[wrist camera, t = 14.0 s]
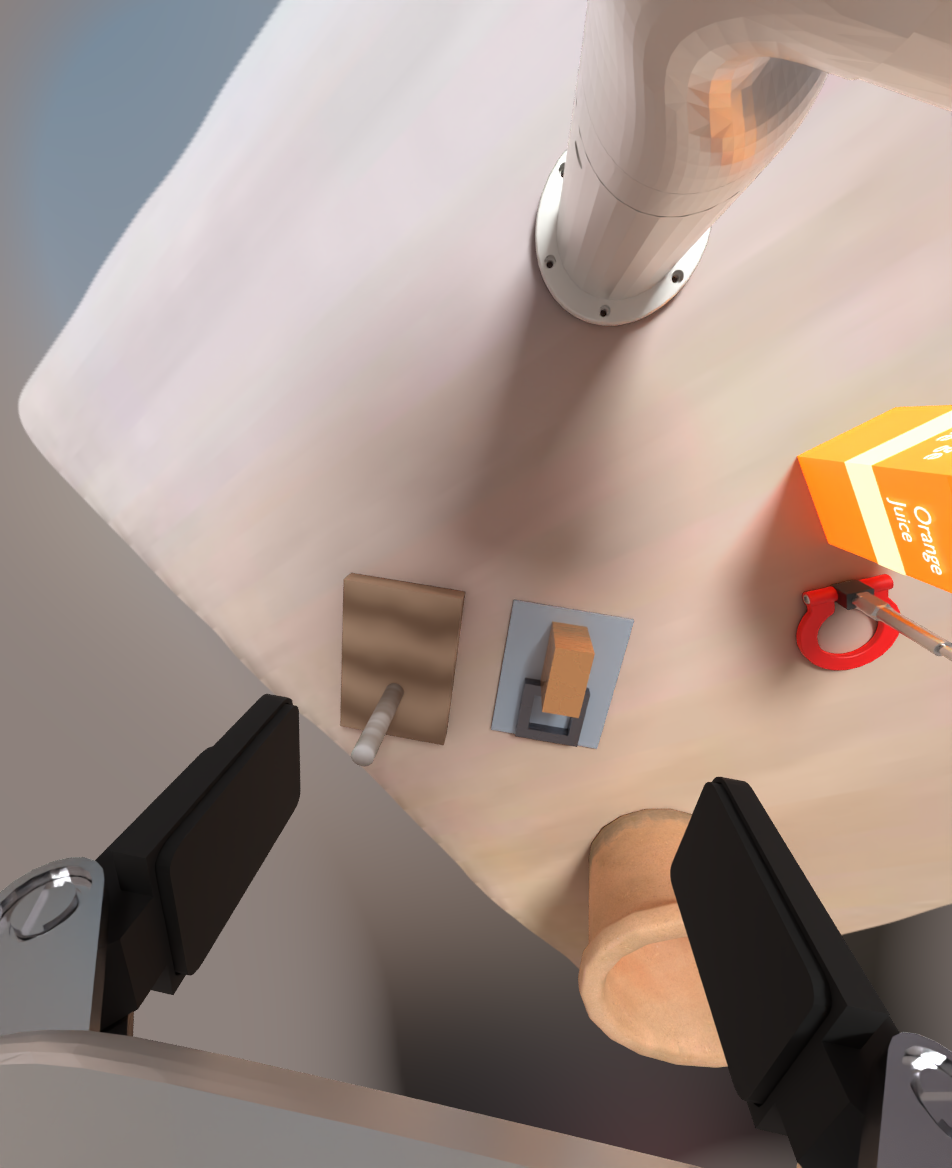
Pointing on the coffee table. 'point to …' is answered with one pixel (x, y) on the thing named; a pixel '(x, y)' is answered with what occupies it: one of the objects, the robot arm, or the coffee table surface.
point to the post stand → (397, 660)
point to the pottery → (644, 945)
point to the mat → (528, 660)
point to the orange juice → (889, 491)
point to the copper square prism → (560, 686)
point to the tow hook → (872, 602)
